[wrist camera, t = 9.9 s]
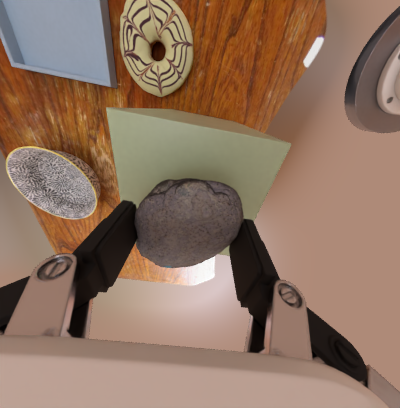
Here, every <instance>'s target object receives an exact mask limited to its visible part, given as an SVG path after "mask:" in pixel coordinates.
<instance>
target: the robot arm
mask: <svg viewBox="0 0 400 408" xmlns="http://www.w3.org/2000/svg"><path fill="white" fill-rule="evenodd" d="M377 101H378V104H379V106H380V108H381V109H382V110H383V111H384V112H386V113H389V114H393V115H400V44H399V45H398V46H397V47H396V49H395V50H394V52H393V53H392V55H391V56H390V58H389V59H388V61H387V63H386V65H385V67H384V68H383V71H382V73H381V76H380V78H379V82H378V86H377ZM136 209H137V208H136V204H134V203H133V201H127V200H123V201H122V202H121V203H120V204H119V205H118V206H117V207H116V208H115V209H114V210H113V212H112V213H111V214H110V215H109V216H108V217H107V218H105V219H104V220H102V222H101V223H100V224H99V225H98V226H97V227H96V228H95V229H94V230H93V231H92V232H91V233H90V235H89V236H88V237H87V238H86V239H85V240H84V241H83V242H82V243H81V244H80V245H79V247H78V248H77V249H76V250H75V251H74V252H73V253H72V254H70V253H61V254H57V255H53V256H51V257H49V258H47V259H45V260H44V261H42V262H41V263H40V264H39V265H37V267H35V269H34V271H33V272H32V274H31V276H28V277H26V278H23V279H21V280H18V281H16V282H14V283H11V284H8V285H6V286H3V287H1V288H0V408H400V392H399V391H398V390H397V389H396V388H395V387H394V386H393V385H391V384H390V383H389V382H388V381H387V380H386V379H385V378H384V377H382V376H381V375H380V374H379V373H378V372H377V371H376V370H375V369H373V368H372V367H371V366H370V365H367V366H366V365H365V364H364V361H363V359H362V357H361V356H360V355H359V353H358V351H357V350H356V349H355V348H354V346H353V345H352V344H351V343H350V342H349V341H348V340H347V339H345V338H344V337H343V336H342V335H341V334H339V333H338V332H337V331H336V330H335V329H333V328H332V327H331V326H329V325H328V324H327V323H326V322H325V321H324V320H322V319H321V318H320V317H319V316H317V315H316V314H315V313H314V312H312V311H311V310H310V309H309V308H307V307H306V302H305V298H304V296H303V294H302V293H301V292H300V290H299V289H298V288H297V287H296V286H295V285H293V284H292V283H290V282H288V281H286V280H280V278H279V276H278V274H277V272H276V269H275V267H274V265H273V262H272V260H271V258H270V256H269V254H268V251H267V249H266V247H265V244H264V243H263V241H262V240H261V238H260V236H259V234H258V231H257V229H256V226H255V224H254V222H253V220H251V219H245V218H244V222H242V224H241V227H240V230H239V232H238V235H237V237H236V238H235V239H234V240H233V241H232V243H231V244H230V246H229V254H230V260H231V265H232V271H233V277H234V283H235V288H236V294H237V299H238V301H240V303H241V307H245V308H248V310H249V313H250V314H251V316H250V321H249V326H248V332H247V337H246V343H245V348H244V352H237V351H226V350H215V349H204V348H192V347H180V346H169V345H156V344H145V343H132V342H120V341H108V340H96V339H89V332H90V323H91V313H92V304H93V298H94V297H96V296H97V294H98V292H107V290H108V288H109V287H111V286H113V284H114V282H115V281H116V279H117V277H118V275H119V273H120V271H121V269H122V267H123V265H124V263H125V261H126V260H127V258H128V256H129V254H130V252H131V250H132V248H133V246H134V244H135V242H136V240H137V238H138V236H137V231H136V228H135V225H134V221H135V213H136Z"/></svg>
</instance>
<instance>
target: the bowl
mask: <svg viewBox="0 0 400 408" xmlns="http://www.w3.org/2000/svg"><path fill="white" fill-rule="evenodd" d="M6 169H7V173H8V176H9V178H10V180H11V182H12V183H13V185H14V186H15V187H16V189H17V190H18V191H19V192H20V193H21V194H22V195H23V196H24V197H25V198H26V199H27V200H28V201H30V202H31V203H32V204H34V205H35V206H37V207H38V208H40V209H42V210H44V211H46V212H48V213H50V214H52V215H55V216H58V217H61V218H66V219H83V218H86V217H88V216H90V215H91V214H93V212H94V211H95V209H96V207H97V202H98V199H99V196H100V182H99V179H98V177H97V175H96V174H95V172H94V171H93V170H92V168H91V167H90V166H89V165H88V164H86V163H85V162H84V161H82V160H81V159H79V158H78V157H76V156H73V155H71V154H69V153H65V152H62V151H57V150H49V149H44V148H40V147H33V146H25V147H19V148H17V149H14V150H13V151H12V152H11V153H10V154H9V155H8V157H7V159H6Z"/></svg>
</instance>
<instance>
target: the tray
mask: <svg viewBox="0 0 400 408" xmlns="http://www.w3.org/2000/svg"><path fill="white" fill-rule="evenodd" d="M0 38H1V40H2V43H3V45H4V48H5V50H6V53H7V55H8V58H9V60H10V63H11V65H12V67H16V68H20V69H25V70H30V71H34V72H39V73H44V74H49V75H54V76H59V77H64V78H69V79H73V80H78V81H83V82H88V83H93V84H98V85H103V86H107V87H112V88H117V80H116V71H115V62H114V53H113V45H112V36H111V27H110V18H109V9H108V0H0Z"/></svg>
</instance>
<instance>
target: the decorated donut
mask: <svg viewBox="0 0 400 408" xmlns="http://www.w3.org/2000/svg"><path fill="white" fill-rule="evenodd" d="M120 28H121V30H120V48H121V53H122V56H123V60H124V62H125V65H126V68H127V70H128V71H129V73H130V74H131V76H132V78H133V79H134V80H135V82H136V83H137V84H138V85H139V86H140V87H141V88H142V89H144V90H145V91H146V92H148V93H151V94H153V95H156V96H158V97H163V96H165V95H169V94H170V93H172V92H174V91H176V90H177V89H179V88H180V87H181V86H182V85H183V83H184V81H185V80H186V78H187V77H188V75H189V73H190V71H191V68H192V64H193V55H194V46H193V37H192V32H191V28H190V25H189V23H188V21H187V19H186V17H185V15H184V13H183V12H182V11H181V9H180V8H179V6H178V5H177V4H176V3H175V2H174V1H173V0H127V1H126V3H125V7H124V12H123V14H122V15H121V17H120ZM156 42H161V43H162V44H163V45H164V47H165V50H166V54H165V56H164V59H163V60H161V61H155V60H154V59H153V58H152V47H153V45H154V44H155V43H156Z"/></svg>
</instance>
